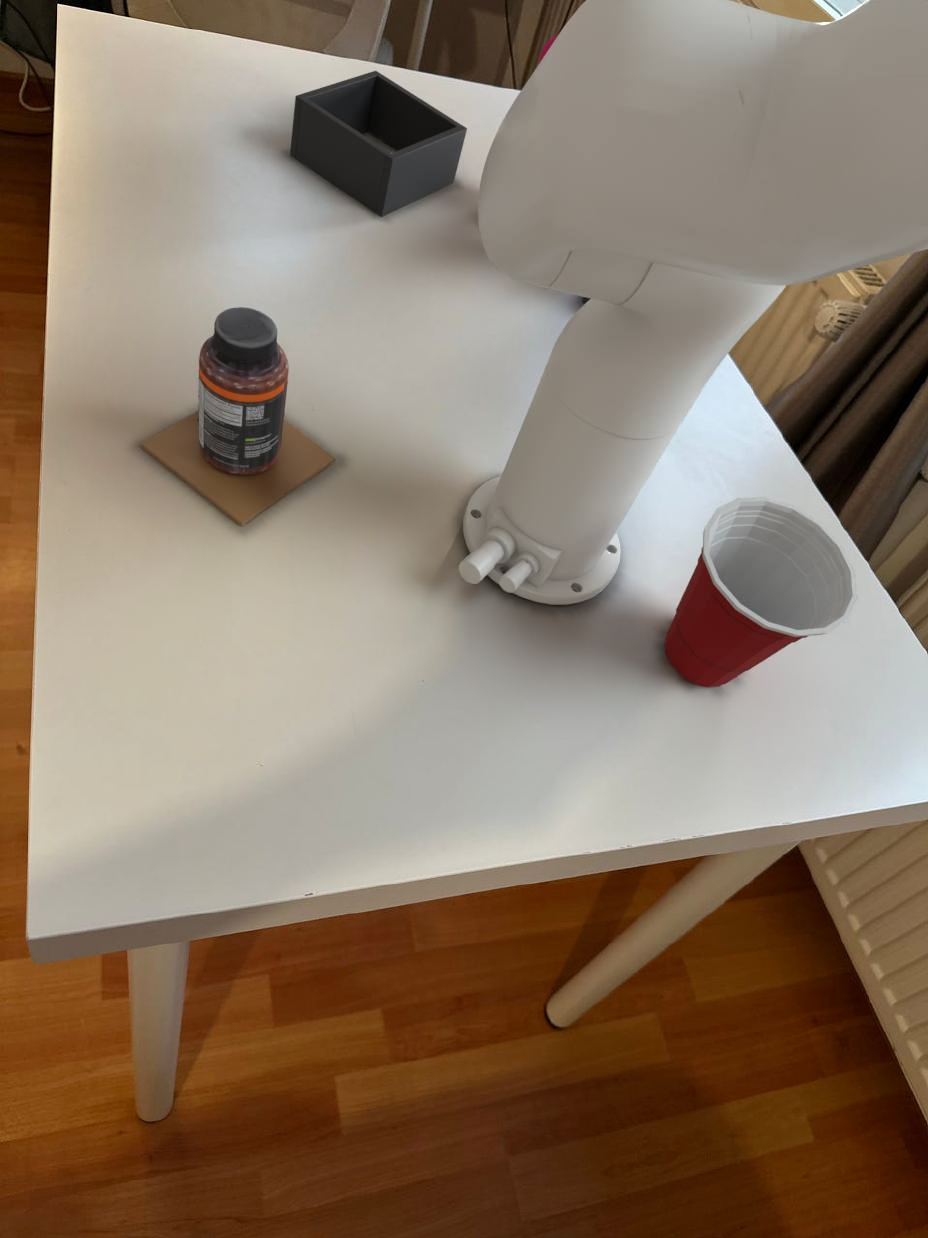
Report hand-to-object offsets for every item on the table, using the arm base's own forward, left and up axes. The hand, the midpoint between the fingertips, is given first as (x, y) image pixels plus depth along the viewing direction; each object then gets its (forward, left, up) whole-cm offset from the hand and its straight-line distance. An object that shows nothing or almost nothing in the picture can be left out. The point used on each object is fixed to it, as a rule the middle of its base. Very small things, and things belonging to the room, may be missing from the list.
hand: (646, 7), depth 61 cm
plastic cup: (-20, -30, -28) cm, 46 cm away
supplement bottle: (-31, +6, -28) cm, 42 cm away
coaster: (-31, +6, -28) cm, 42 cm away
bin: (+10, +27, -28) cm, 40 cm away
